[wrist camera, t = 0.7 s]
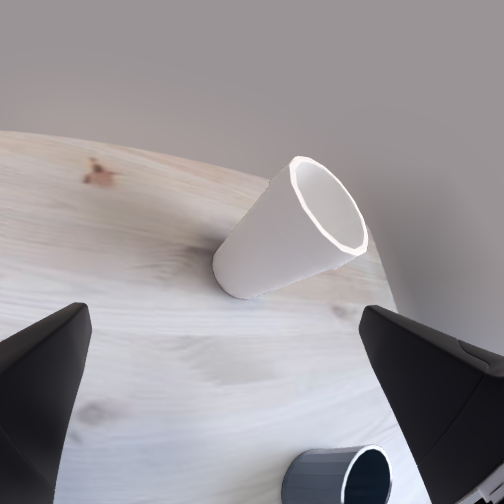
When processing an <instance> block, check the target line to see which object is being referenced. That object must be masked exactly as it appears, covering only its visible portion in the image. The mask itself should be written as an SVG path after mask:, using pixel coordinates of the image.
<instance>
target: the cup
mask: <svg viewBox="0 0 504 504" xmlns="http://www.w3.org/2000/svg"><path fill="white" fill-rule="evenodd" d="M391 487H392V469H391V463H390V460H389V458H388V456H387V453H386V452H385V451H384V450H383V449H382V448H381V447H380V446H377V445H374V444H371V445H363V446H353V447H341V448H325V449H312V450H309V451H306V452H304V453H302V454H301V455H300V456H298V457H297V458H296V459H295V460H294V462H293V463H292V464H291V466H290V467H289V469H288V471H287V473H286V475H285V478H284V481H283V486H282V502H283V504H387V502H388V500H389V497H390V493H391Z"/></svg>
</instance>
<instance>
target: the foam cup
mask: <svg viewBox="0 0 504 504" xmlns="http://www.w3.org/2000/svg"><path fill="white" fill-rule="evenodd" d="M367 244H368V234H367V230H366V226H365V223H364V219H363V217H362V215H361V213H360V211H359V209H358V207H357V205H356V203H355V201H354V200H353V198H352V197H351V195H350V194H349V193H348V191H347V190H346V189H345V187H344V186H343V185H342V183H341V182H340V181H339V180H338V179H337V178H336V177H335V176H334V175H333V174H332V173H331V172H330V171H329V170H328V169H327V168H326V167H324V166H323V165H321V164H319V163H317V162H316V161H314V160H313V159H311V158H309V157H299V156H296V157H295V158H294V159H293V160H292V161H290V162H289V163H288V164H287V165H286V166H285V167H284V168H283V169H282V170H280V171H279V172H278V173H277V174H276V175H275V176H274V178H273V179H272V180H271V181H270V182H269V187H268V188H267V189H266V191H265V192H264V193H263V194H262V195H261V197H260V198H259V199H258V200H257V202H256V203H255V204H254V205H253V206H252V208H251V209H250V210H249V211H248V213H247V214H246V215H245V216H244V217H243V219H242V220H241V221H240V222H239V224H238V225H237V226H236V227H235V229H234V230H233V231H232V232H231V234H230V235H229V236H228V237H227V239H226V240H225V241H224V242H223V244H222V245H221V246H220V247H219V249H218V250H217V251H216V253H215V254H214V257H213V264H212V267H213V271H214V274H215V277H216V280H217V281H218V283H219V284H220V285H221V287H222V288H223V289H224V291H226V292H227V293H229V294H230V295H232V296H234V297H235V298H238V299H246V300H248V299H250V298H254V297H257V296H260V295H262V294H265V293H268V292H271V291H273V290H276V289H279V288H281V287H284V286H287V285H289V284H292V283H295V282H297V281H300V280H303V279H305V278H308V277H311V276H313V275H316V274H318V273H321V272H323V271H326V270H329V269H333V270H335V269H337V268H339V267H340V266H342V265H344V264H346V263H347V262H349V261H351V260H352V259H354V258H356V257H358V256H359V255H361V254H362V253H364V252H366V251H367Z"/></svg>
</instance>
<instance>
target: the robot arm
mask: <svg viewBox="0 0 504 504" xmlns="http://www.w3.org/2000/svg"><path fill="white" fill-rule="evenodd" d="M91 334H92V325H91V320H90V315H89V310H88V306H87V305H86V304H85V303H77V302H75V303H72V304H70V305H68V306H67V307H65V308H63V309H61V310H59V311H57V312H55V313H53V314H51V315H49V316H47V317H46V318H44V319H42V320H40V321H38V322H36V323H34V324H32V325H31V326H29V327H27V328H25V329H23V330H21V331H19V332H18V333H16V334H14V335H12V336H10V337H9V338H7V339H5V340H3V341H1V342H0V504H53V500H54V494H55V491H54V490H55V486H56V480H57V474H58V469H59V464H60V459H61V454H62V450H63V445H64V441H65V436H66V432H67V428H68V424H69V420H70V416H71V413H72V409H73V405H74V402H75V398H76V395H77V392H78V388H79V385H80V382H81V378H82V375H83V371H84V367H85V362H86V357H87V352H88V347H89V343H90V338H91ZM359 334H360V336H361V339H362V342H363V344H364V347H365V350H366V352H367V355H368V358H369V361H370V363H371V366H372V368H373V370H374V372H375V375H376V377H377V379H378V381H379V383H380V385H381V387H382V389H383V391H384V393H385V395H386V397H387V400H388V402H389V404H390V406H391V408H392V410H393V412H394V415H395V417H396V419H397V421H398V423H399V426H400V428H401V430H402V432H403V435H404V437H405V439H406V441H407V444H408V446H409V448H410V451H411V453H412V455H413V458H414V460H415V462H416V465H418V466H417V467H418V470H419V472H420V475H421V477H422V480H423V482H424V485H425V487H426V490H427V492H428V495H429V497H430V500H431V503H432V504H458V503H460V502H461V501H463V500H464V499H466V498H467V497H469V496H470V495H471V494H473V493H474V492H476V491H477V490H478V491H479V492H480V494H481V495H482V498H481V499H480V500H478V501H477V502H476V503H474V504H504V356H501V355H498V354H495V353H492V352H489V351H487V350H484V349H481V348H479V347H476V346H474V345H471V344H469V343H466V342H464V341H461V340H457V339H456V338H454V337H452V336H449V335H447V334H444V333H442V332H440V331H437V330H435V329H432V328H430V327H428V326H425V325H423V324H421V323H418V322H416V321H413V320H411V319H409V318H406V317H404V316H401V315H399V314H397V313H394V312H392V311H390V310H387V309H385V308H382V307H380V306H378V305H369V306H366V307H365V308H364V311H363V314H362V318H361V321H360V324H359Z"/></svg>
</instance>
